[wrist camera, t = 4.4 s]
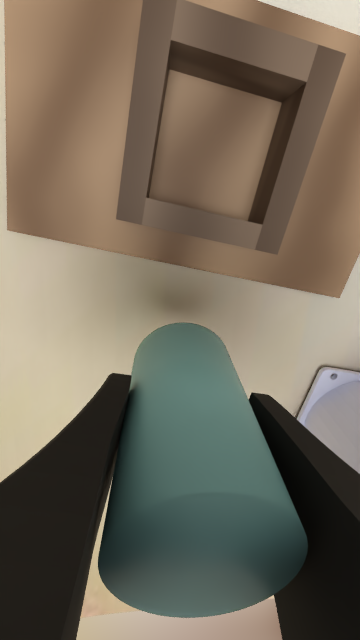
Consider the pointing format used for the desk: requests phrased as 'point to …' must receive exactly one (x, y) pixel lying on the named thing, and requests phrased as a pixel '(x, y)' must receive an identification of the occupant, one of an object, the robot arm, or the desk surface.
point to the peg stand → (187, 135)
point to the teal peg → (195, 488)
